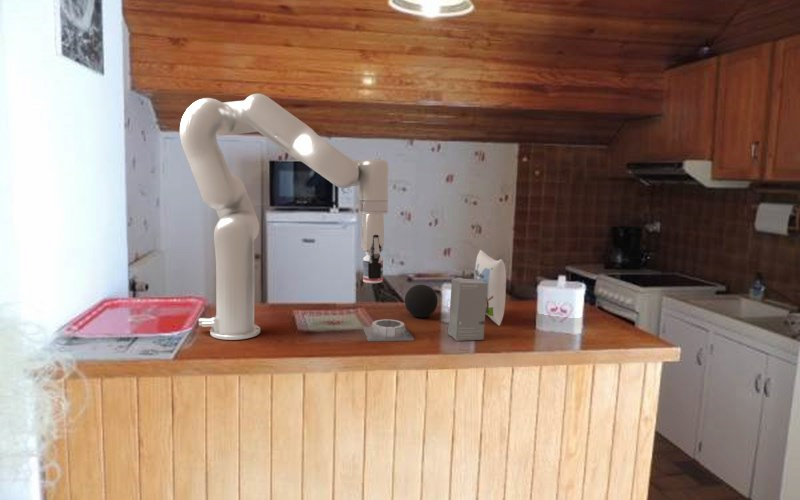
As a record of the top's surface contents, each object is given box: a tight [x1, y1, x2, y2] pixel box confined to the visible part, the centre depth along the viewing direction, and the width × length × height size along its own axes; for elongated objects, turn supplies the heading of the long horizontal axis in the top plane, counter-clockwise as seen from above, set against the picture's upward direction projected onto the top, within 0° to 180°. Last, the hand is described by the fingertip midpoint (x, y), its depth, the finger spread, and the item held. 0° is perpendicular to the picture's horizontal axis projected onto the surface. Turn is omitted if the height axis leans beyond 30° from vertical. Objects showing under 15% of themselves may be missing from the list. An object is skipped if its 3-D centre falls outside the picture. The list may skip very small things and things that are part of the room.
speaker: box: [404, 284, 439, 318], centre depth 173 cm, size 10×10×10 cm
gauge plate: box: [362, 318, 415, 342], centre depth 153 cm, size 12×11×3 cm
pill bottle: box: [362, 249, 384, 284], centre depth 150 cm, size 5×5×9 cm
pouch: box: [473, 249, 507, 327], centre depth 174 cm, size 8×19×20 cm, turn 7°
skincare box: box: [447, 278, 488, 342], centre depth 153 cm, size 8×7×16 cm
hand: (372, 275), depth 150 cm, fingers closed on pill bottle, 5 cm apart
